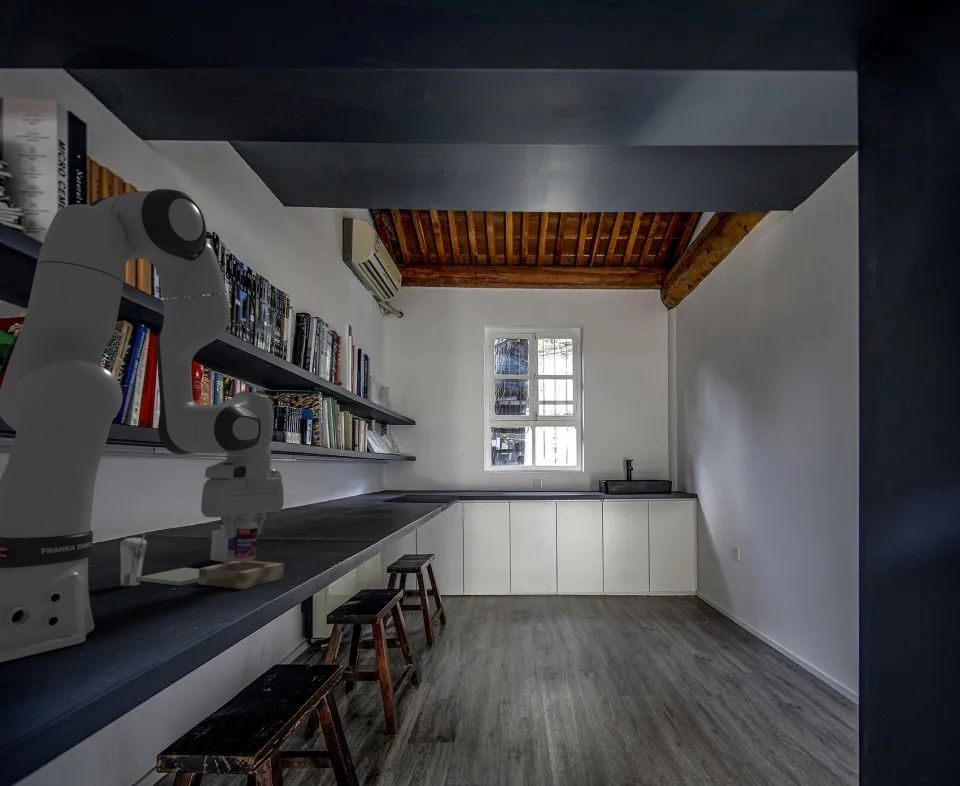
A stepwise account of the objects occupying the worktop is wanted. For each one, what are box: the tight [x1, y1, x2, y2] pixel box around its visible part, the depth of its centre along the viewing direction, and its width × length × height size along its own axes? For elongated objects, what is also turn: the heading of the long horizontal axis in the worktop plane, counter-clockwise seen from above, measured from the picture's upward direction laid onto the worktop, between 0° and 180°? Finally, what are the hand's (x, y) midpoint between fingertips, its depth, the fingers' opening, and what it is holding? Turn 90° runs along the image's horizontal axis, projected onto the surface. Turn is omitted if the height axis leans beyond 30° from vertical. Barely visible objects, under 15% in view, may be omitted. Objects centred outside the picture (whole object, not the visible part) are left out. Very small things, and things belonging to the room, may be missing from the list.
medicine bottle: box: [209, 517, 235, 563], centre depth 142 cm, size 7×7×12 cm
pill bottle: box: [228, 512, 258, 561], centre depth 118 cm, size 5×5×10 cm
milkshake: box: [119, 533, 148, 587], centre depth 113 cm, size 4×5×10 cm
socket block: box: [197, 560, 285, 590], centre depth 118 cm, size 12×12×3 cm
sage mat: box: [140, 567, 199, 587], centre depth 119 cm, size 11×11×1 cm
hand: (243, 536), depth 118 cm, fingers closed on pill bottle, 5 cm apart
